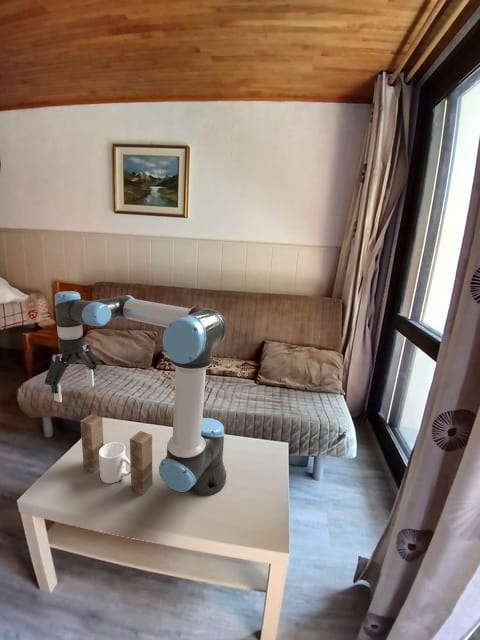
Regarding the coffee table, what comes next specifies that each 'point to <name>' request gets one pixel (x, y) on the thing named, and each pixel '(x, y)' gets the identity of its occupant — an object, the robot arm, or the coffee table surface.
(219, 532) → the coffee table surface
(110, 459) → the mug
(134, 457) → the post near
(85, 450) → the post far
